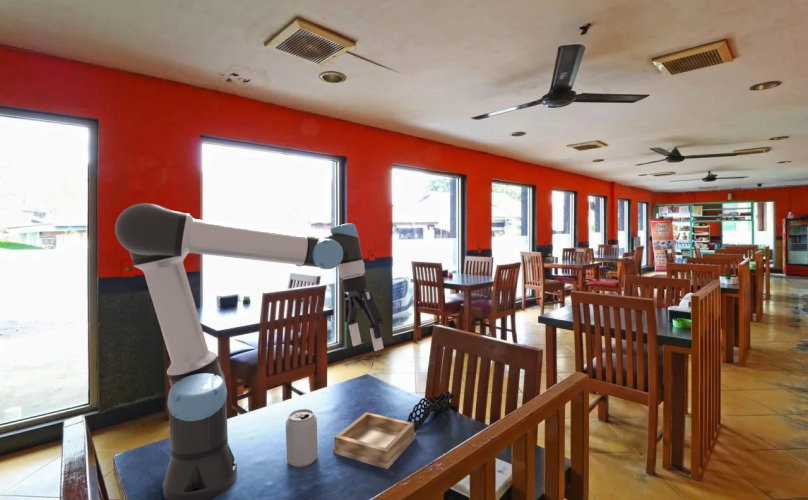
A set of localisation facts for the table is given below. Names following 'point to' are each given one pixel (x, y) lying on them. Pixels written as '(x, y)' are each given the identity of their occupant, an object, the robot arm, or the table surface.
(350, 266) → the robot arm
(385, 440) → the wooden tray
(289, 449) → the can
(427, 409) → the decorative element
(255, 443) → the table surface
